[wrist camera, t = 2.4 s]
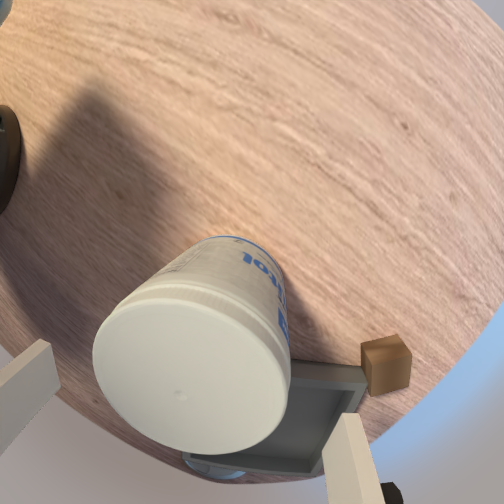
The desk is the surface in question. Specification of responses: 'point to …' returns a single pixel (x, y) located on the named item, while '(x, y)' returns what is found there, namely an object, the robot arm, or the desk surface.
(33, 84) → the desk surface
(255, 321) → the supplement tub
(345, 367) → the tray
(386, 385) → the walnut block
